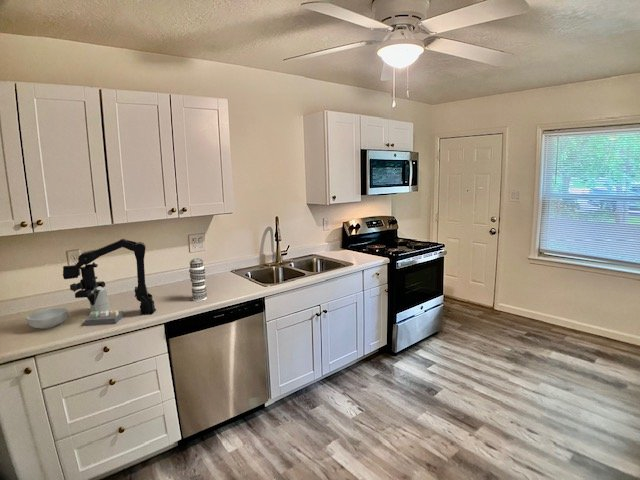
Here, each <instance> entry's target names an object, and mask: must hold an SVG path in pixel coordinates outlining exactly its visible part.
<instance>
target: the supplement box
mask: <svg viewBox="0 0 640 480" xmlns="http://www.w3.org/2000/svg"><path fill="white" fill-rule="evenodd" d="M97 290H100V292H99V294H98V297H97V299H96V302H95V305H91V303H90V302H89V306H90V311H91V312H94V311H99V313H101V312H102V311H109V312H110V310H111V309H110V306H109V305H110V303H109V298H108V297H109V296H108V290H107V288H104V287H97ZM91 312H90V313H91Z"/></svg>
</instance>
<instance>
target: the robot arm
mask: <svg viewBox="0 0 640 480" xmlns="http://www.w3.org/2000/svg"><path fill="white" fill-rule="evenodd" d="M121 248H124V249H127V250H130V251H132V252H133V254H134V256H135V260H136V278H137V286H135V287H134V298H136V300H137V301H138V302H140V305H139V311H140V315H153V314H154V313H155V312H156V311H157V308H156V307H155V300H153V298H154V297H153V295H152V294H151V293H150V292H149V291H148V287H147V284H146V274H145V273H146V272H145V271H146V270H145V255H146V249H147V248H146V244H145V243H144V242H142V241H133V240H128V239H125V238H120V239H119V240H117V241H115V242H112V243H110V244H107V245H104V246H102V247H99V248H97V249H91V250H87V251H84V252H81V254H80V255H79V256H78V258H77V260H78V261H77V262H76V264H73V265H72V264H71V265H63V266H62V269H63V271H62V277H63V279H64V280H71V279H72V280H73V279H77V278H79V276H80V277H81V279H80V280H79V282H77V283H72V284H70V285H69V290H70V291H71V292H72V291H73V292H74V298H75V299H80V298H83V299H84V298H86V299H87V300H88V301H89V304H90V303H91V305H95V302H96V299H97V297H98V294H99V292H100V290H97V289H98V288H105V287H106V282H105V281H104V280H102V281H101V280H100V281H97V279H98V276H96V273H95V268H98V266H99V264H97V263H96V262H95V261H96V260H97V259H99V258H100V257H102V256H105V255H107V254H109V253H112V252H115V251H117V250H119V249H121Z"/></svg>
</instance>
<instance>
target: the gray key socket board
mask: <svg viewBox="0 0 640 480" xmlns="http://www.w3.org/2000/svg"><path fill="white" fill-rule="evenodd" d="M110 312H111V311H109V315H108V316H107V317H100V313H99V316H98V317H95V318H90V316H88V317H87V318H86V319H85V320H84V325H85V326H86V327H87V326H102V325H117V323H119V322H118V321H119V320H123V318H124V317H125V312H124V310H121V311H120V310H118V312H119V314H118V315H117V316H110Z"/></svg>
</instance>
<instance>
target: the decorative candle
mask: <svg viewBox="0 0 640 480" xmlns="http://www.w3.org/2000/svg"><path fill="white" fill-rule="evenodd" d="M188 270H189V271H188V272H189V278H190V282H191V295H192V301H194V302H202V300H203V301H205V300H207V299H208V292H207V286H206V269H205V267H204V260H202V259H201V258H199V257H197V258H192V259H191V260H190V261H189V269H188Z"/></svg>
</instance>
